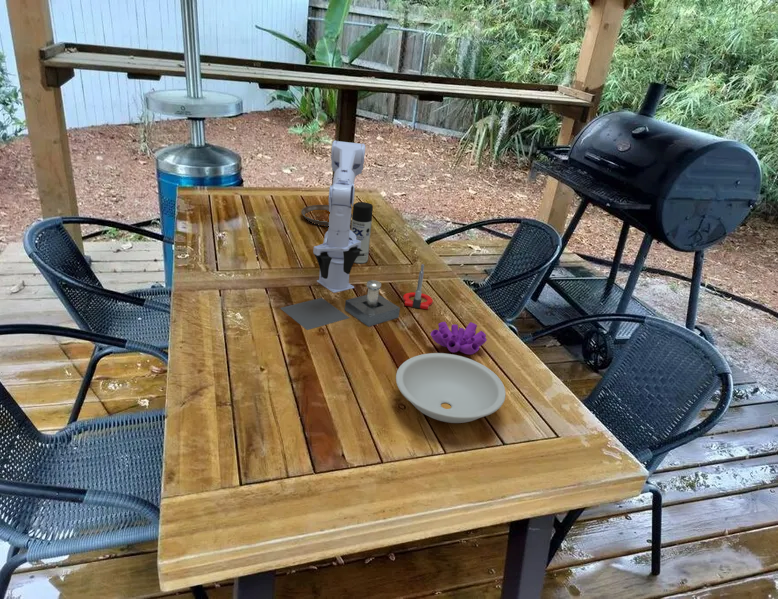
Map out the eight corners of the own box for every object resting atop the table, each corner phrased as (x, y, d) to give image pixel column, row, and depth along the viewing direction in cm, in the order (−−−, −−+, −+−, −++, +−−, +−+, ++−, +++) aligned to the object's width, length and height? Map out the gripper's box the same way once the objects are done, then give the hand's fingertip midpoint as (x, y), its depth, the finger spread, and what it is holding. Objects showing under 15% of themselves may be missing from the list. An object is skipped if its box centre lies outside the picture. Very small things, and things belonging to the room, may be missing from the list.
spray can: (345, 260, 193) (349, 204, 184) (353, 254, 199) (358, 200, 190) (362, 265, 191) (368, 209, 182) (370, 259, 197) (376, 204, 188)
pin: (360, 313, 159) (364, 282, 155) (371, 310, 162) (374, 279, 158) (369, 319, 157) (373, 287, 153) (380, 316, 159) (384, 284, 155)
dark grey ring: (349, 231, 221) (350, 223, 219) (297, 225, 220) (297, 217, 218) (353, 215, 239) (353, 207, 238) (304, 210, 238) (305, 202, 237)
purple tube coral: (482, 364, 149) (494, 351, 140) (427, 362, 147) (435, 349, 138) (478, 325, 154) (489, 310, 145) (425, 322, 152) (433, 307, 143)
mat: (279, 309, 156) (279, 308, 156) (321, 298, 165) (321, 297, 165) (306, 331, 147) (307, 330, 147) (349, 319, 156) (349, 317, 156)
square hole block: (344, 311, 160) (345, 300, 158) (374, 302, 167) (375, 292, 165) (368, 327, 153) (369, 316, 151) (398, 318, 159) (400, 307, 158)
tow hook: (404, 293, 176) (400, 306, 167) (410, 252, 170) (407, 262, 161) (433, 298, 175) (430, 311, 166) (440, 257, 169) (438, 267, 160)
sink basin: (488, 457, 111) (495, 431, 108) (376, 421, 118) (380, 395, 115) (507, 393, 132) (513, 370, 129) (411, 365, 138) (415, 342, 135)
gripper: (325, 236, 143) (322, 285, 149) (369, 229, 152) (364, 275, 158) (310, 228, 148) (307, 275, 154) (353, 222, 157) (350, 267, 163)
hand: (335, 275), depth 156 cm, fingers open, 7 cm apart
